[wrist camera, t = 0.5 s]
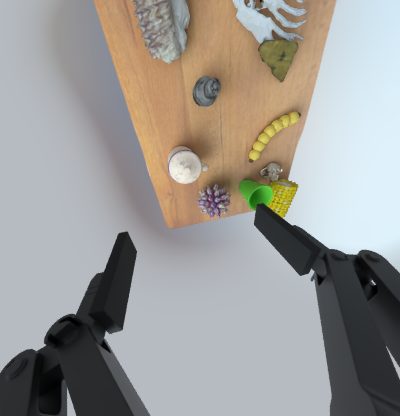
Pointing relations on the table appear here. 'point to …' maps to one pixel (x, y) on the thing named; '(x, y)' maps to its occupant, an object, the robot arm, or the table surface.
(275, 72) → the stone
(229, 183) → the table surface
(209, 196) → the flower
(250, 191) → the cup
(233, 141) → the table surface
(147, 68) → the table surface
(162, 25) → the grey ridged fossil rock
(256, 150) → the yellow segmented curved bar
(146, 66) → the table surface
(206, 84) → the grey carved upright piece
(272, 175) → the ornament
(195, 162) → the teacup with lid
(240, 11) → the decorative object
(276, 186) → the food
